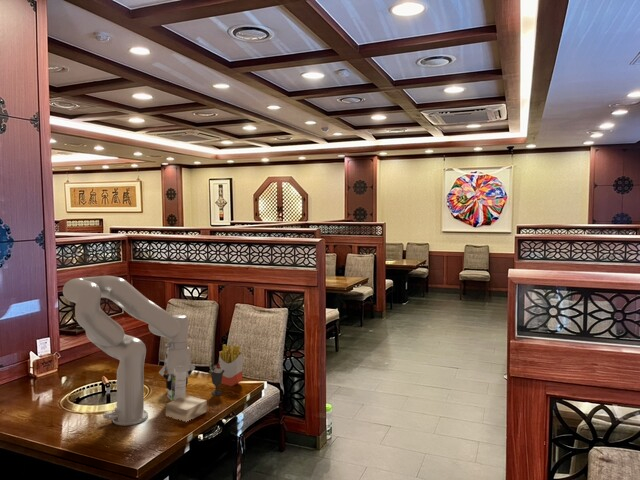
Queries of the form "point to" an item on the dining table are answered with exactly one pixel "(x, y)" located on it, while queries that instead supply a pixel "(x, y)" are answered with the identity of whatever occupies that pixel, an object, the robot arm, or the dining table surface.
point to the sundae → (217, 377)
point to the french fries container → (231, 364)
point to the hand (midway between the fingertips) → (176, 387)
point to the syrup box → (177, 385)
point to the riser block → (186, 408)
